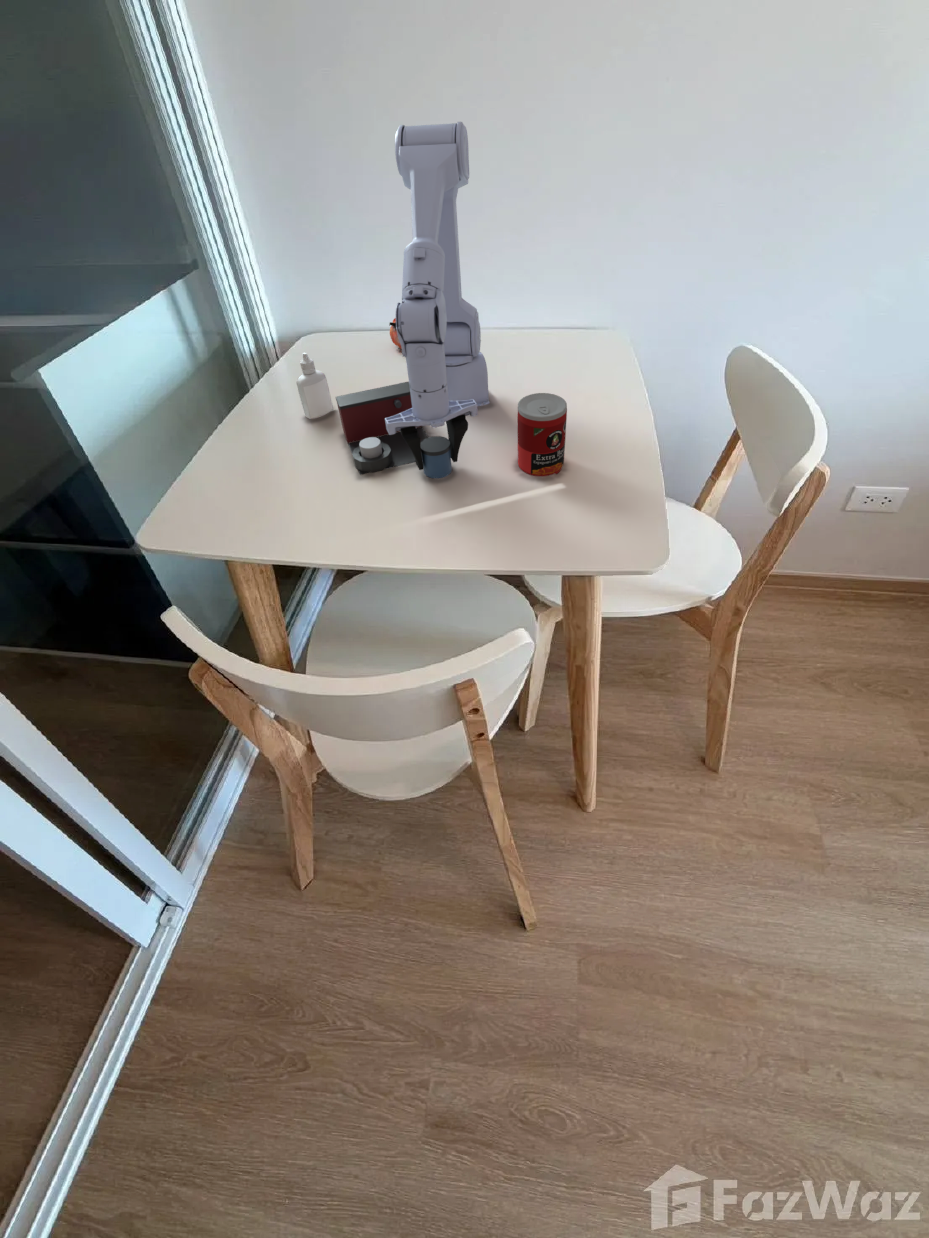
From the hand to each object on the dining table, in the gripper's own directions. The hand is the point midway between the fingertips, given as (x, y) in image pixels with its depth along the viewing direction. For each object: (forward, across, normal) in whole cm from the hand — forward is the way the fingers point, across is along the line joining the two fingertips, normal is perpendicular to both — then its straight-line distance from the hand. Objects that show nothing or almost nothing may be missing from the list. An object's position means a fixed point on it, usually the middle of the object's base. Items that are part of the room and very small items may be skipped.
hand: (436, 462), depth 103 cm
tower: (+2, -6, +17) cm, 18 cm away
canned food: (+2, +16, -5) cm, 17 cm away
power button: (0, -9, +7) cm, 12 cm away
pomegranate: (+2, +8, +52) cm, 53 cm away
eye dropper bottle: (+2, -16, +29) cm, 33 cm away
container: (+2, 0, 0) cm, 2 cm away
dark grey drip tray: (+2, -6, +10) cm, 11 cm away
